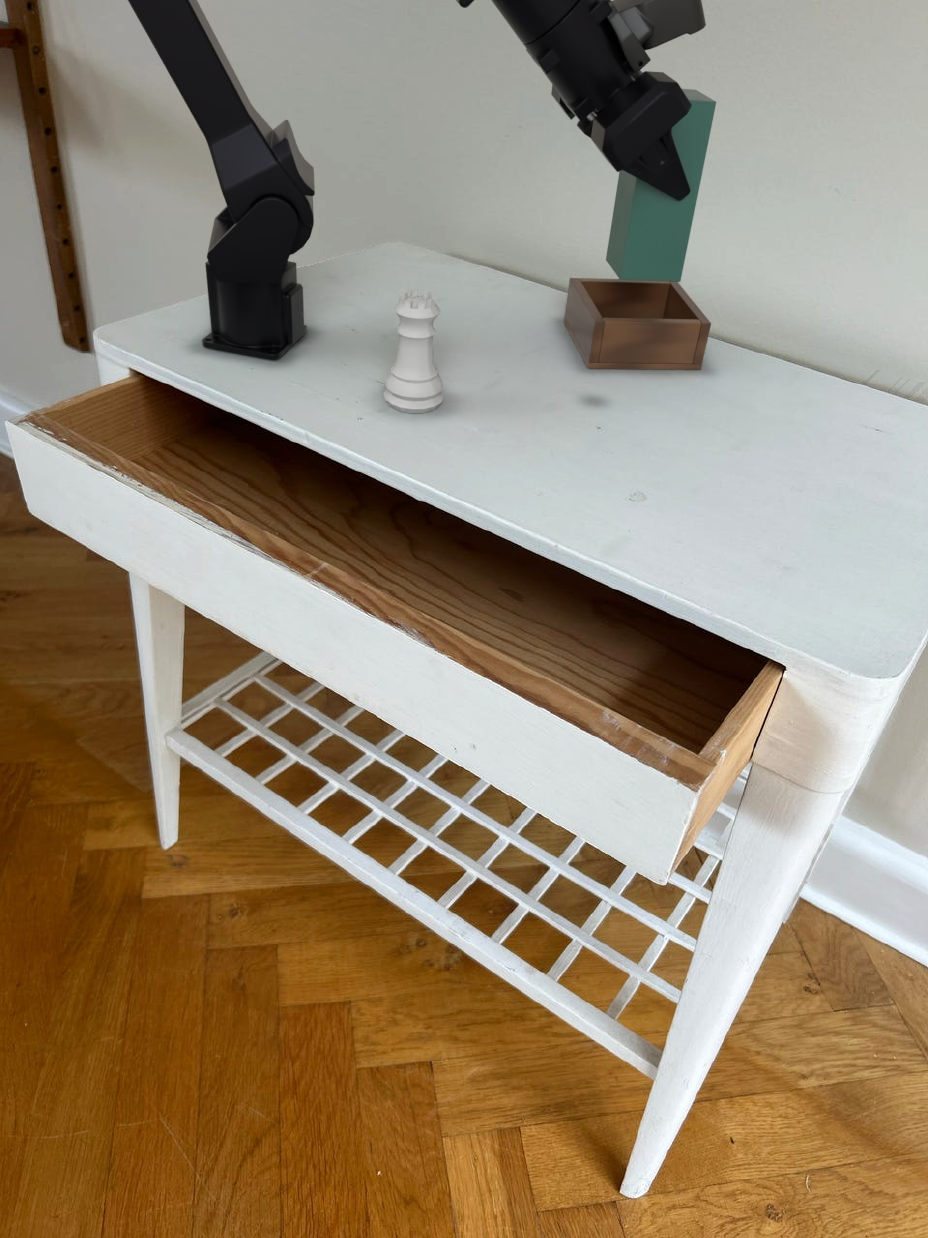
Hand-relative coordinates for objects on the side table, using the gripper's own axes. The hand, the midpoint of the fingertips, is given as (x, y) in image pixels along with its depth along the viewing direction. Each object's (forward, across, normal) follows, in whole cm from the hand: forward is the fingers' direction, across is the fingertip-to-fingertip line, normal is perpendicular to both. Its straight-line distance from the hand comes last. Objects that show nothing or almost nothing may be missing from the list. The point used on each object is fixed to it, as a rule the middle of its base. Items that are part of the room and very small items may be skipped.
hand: (674, 185), depth 78 cm
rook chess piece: (-5, -11, +24) cm, 27 cm away
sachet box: (+4, 0, +6) cm, 7 cm away
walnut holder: (+8, 0, +10) cm, 13 cm away
